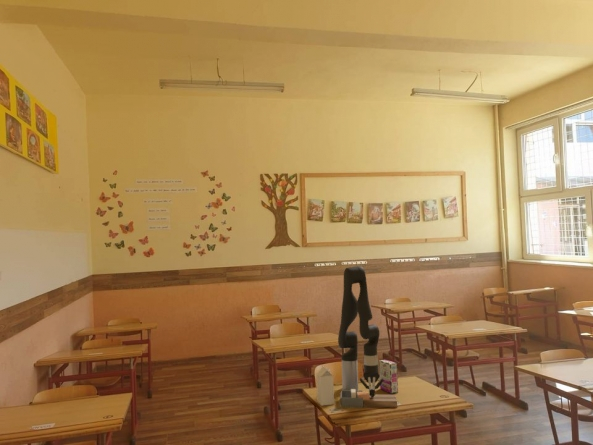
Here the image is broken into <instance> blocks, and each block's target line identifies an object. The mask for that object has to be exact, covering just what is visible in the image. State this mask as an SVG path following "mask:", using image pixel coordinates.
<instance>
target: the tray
mask: <svg viewBox="0 0 593 445" xmlns="http://www.w3.org/2000/svg"><path fill="white" fill-rule="evenodd" d="M357 392H363V390H359V389H358V390H356V398H351V390H343V389H342V390H340V399H339V400H340V408H362V409H363V408H364V402H363V398H357Z"/></svg>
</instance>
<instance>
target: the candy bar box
mask: <svg viewBox="0 0 593 445" xmlns="http://www.w3.org/2000/svg"><path fill="white" fill-rule="evenodd" d="M378 368H379V376H380V377H381V378H383V380H384V381H383V382H382V384H381V385H380V386H379V389H380V390H382V391H385V392H387V393H389V394H390V395H393V394H397V393H399V385H398V378H399V377H398V363H397V362H394V361H391V360H387V359H381V360H380V359H379V360H378Z"/></svg>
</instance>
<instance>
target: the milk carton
mask: <svg viewBox="0 0 593 445" xmlns="http://www.w3.org/2000/svg"><path fill="white" fill-rule="evenodd" d="M334 384H335V383H334V375H333V374H332V373H331V369H329V368H327V367H326V366H324V365H322V366H321V368H320V370H318V371H317V372H316V398H317V400H316V402H317V403H318V404H319V405H320V406H321V407H322V406H330V405H331V406H332V405H335V391H334Z"/></svg>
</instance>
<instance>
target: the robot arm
mask: <svg viewBox="0 0 593 445" xmlns="http://www.w3.org/2000/svg"><path fill="white" fill-rule="evenodd" d="M343 271H344V272H343V292H342V293H343V295H342V303H341V317H340V324H339V326H340V327H339V330H338V331H339V332H338V338H337V342H338V346H339V348H340V349H349V350H348V351H346V352H344V353H342V354H341V378H342V380H341V381H342V382H341V384H342V390H351V389H355V390H359V381H360V383H361V384H362V385H363V386H364V388H365V389H366V390H369V391H368V392H369V394H370V396H371V397H374V396H375V394H376V390H377V389H378V390H379V389H380V385H381V384H382V382H383V381H384V380H383V378H381V377H380V372H379V358H378V344H379V340H380V329H379V327H378V326H377V325H376V324H369V321H371V320H372V319H373V314H372V309H371V305H370V300H369V292H368V291H369V290H368V284H367V276H366V272H365V269H364V267H363V266H358V265H356V266H348V267H346V268H345V269H344V270H343ZM354 284H358V285H359V293H358V294H359V295H358V298H356V296H355V294H354V293H353V285H354ZM357 317H358V318H359V326H358V327H359V335H360V337H361V338H362V339H364V340H368V341H367V342H366V343H364V344H363V375H362V377H359V368H358V366H359V365H358V355H359V354H358V346H359V344H358V340H359V338H358V334H357V332H356V331H354V330H353V331H348V330H349V327H350V326H351V324H352V323H354V321H355V319H356V318H357ZM377 381H378V382H377ZM366 382H367V383H368V384H367V383H366Z"/></svg>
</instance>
